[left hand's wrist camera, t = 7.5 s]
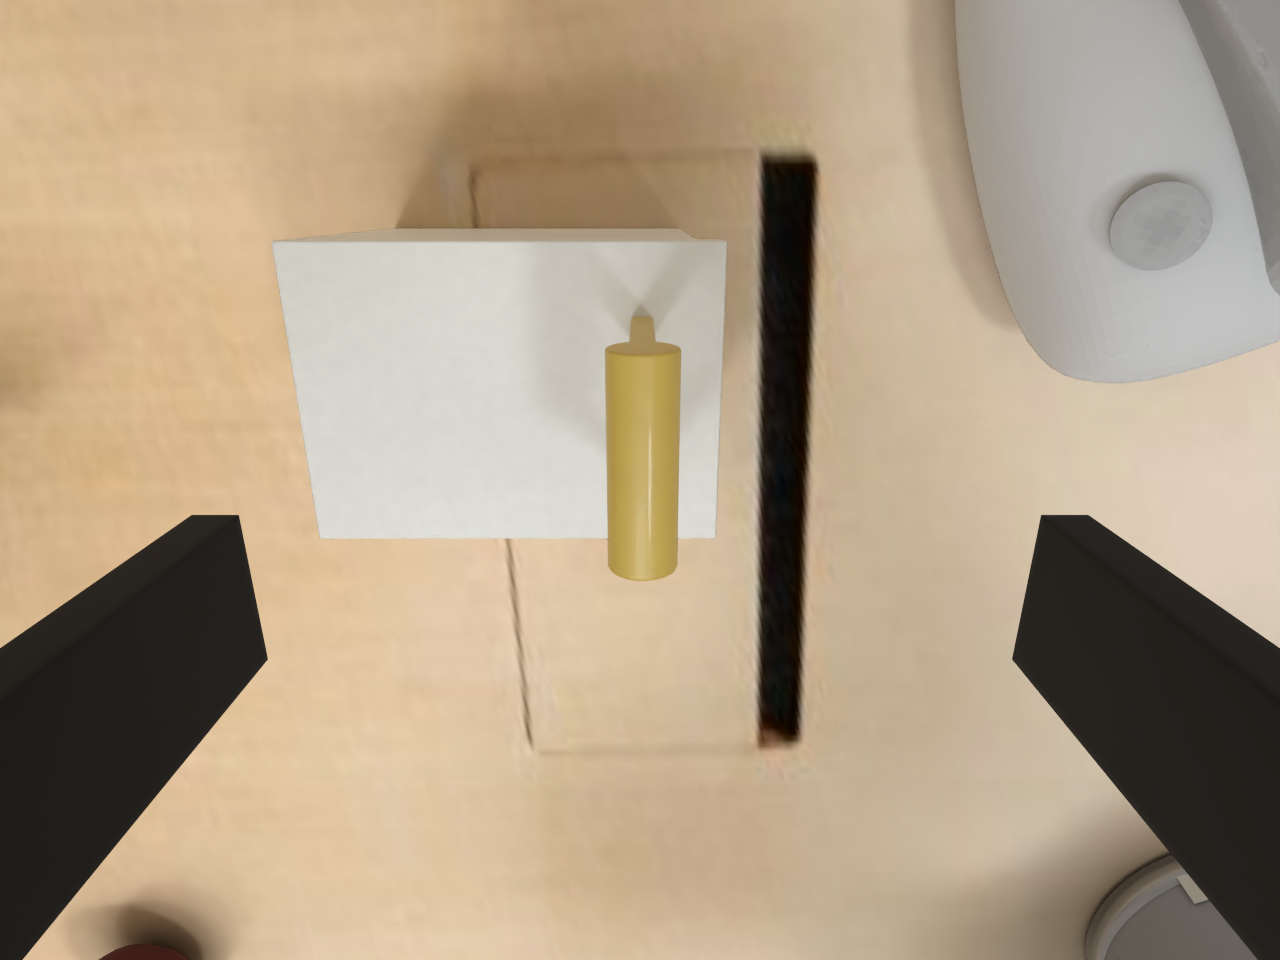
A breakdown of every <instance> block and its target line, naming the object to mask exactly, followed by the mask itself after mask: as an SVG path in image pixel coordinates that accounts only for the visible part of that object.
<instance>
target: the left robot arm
mask: <svg viewBox="0 0 1280 960" xmlns="http://www.w3.org/2000/svg"><path fill="white" fill-rule="evenodd" d="M267 660H268V658H267V653H266V648H265V643H264V638H263V633H262V628H261V623H260V618H259V613H258V608H257V603H256V598H255V594H254V589H253V584H252V579H251V574H250V569H249V564H248V559H247V554H246V549H245V544H244V539H243V534H242V529H241V524H240V519H239V515H191V516H190V517H188V518H187V519H186V520H184V521H183V522H181V523H180V524H178V525H177V526H175V527H174V528H173V529H171V530H170V531H168V532H167V533H165V534H164V535H163V536H161V537H160V538H158V539H157V540H155V541H154V542H152V543H151V544H150V545H148V546H147V547H145V548H144V549H142V550H141V551H140V552H138V553H137V554H135V555H134V556H132V557H131V558H129V559H128V560H127V561H125V562H124V563H122V564H121V565H119V566H118V567H117V568H115V569H114V570H112V571H111V572H109V573H108V574H106V575H105V576H104V577H102V578H101V579H99V580H98V581H96V582H95V583H93V584H92V585H91V586H89V587H88V588H86V589H85V590H83V591H82V592H81V593H79V594H78V595H76V596H75V597H73V598H72V599H70V600H69V601H68V602H66V603H65V604H63V605H62V606H60V607H59V608H58V609H56V610H55V611H53V612H52V613H50V614H49V615H47V616H46V617H45V618H43V619H42V620H40V621H39V622H37V623H36V624H35V625H33V626H32V627H30V628H29V629H27V630H26V631H24V632H23V633H22V634H20V635H19V636H17V637H16V638H14V639H13V640H12V641H10V642H9V643H7V644H6V645H4V646H3V647H1V648H0V960H23V958H24V957H25V956H26V955H27V953H28V952H29V951H30V950H31V949H32V947H33V946H34V945H35V944H36V942H37V941H38V940H39V939H40V938H41V936H42V935H43V934H44V933H45V931H46V930H47V929H48V928H49V926H50V925H51V924H52V923H53V922H54V920H55V919H56V918H57V917H58V915H59V914H60V913H61V912H62V911H63V909H64V908H65V907H66V906H67V904H68V903H69V902H70V901H71V900H72V898H73V897H74V896H75V895H76V893H77V892H78V891H79V890H80V889H81V887H82V886H83V885H84V884H85V882H86V881H87V880H88V879H89V878H90V876H91V875H92V874H93V873H94V871H95V870H96V869H97V868H98V867H99V865H100V864H101V863H102V862H103V860H104V859H105V858H106V857H107V855H108V854H109V853H110V852H111V851H112V849H113V848H114V847H115V846H116V844H117V843H118V842H119V841H120V840H121V838H122V837H123V836H124V835H125V833H126V832H127V831H128V830H129V829H130V827H131V826H132V825H133V824H134V822H135V821H136V820H137V819H138V818H139V816H140V815H141V814H142V813H143V811H144V810H145V809H146V808H147V807H148V805H149V804H150V803H151V802H152V800H153V799H154V798H155V797H156V795H157V794H158V793H159V792H160V791H161V789H162V788H163V787H164V786H165V784H166V783H167V782H168V781H169V780H170V778H171V777H172V776H173V775H174V773H175V772H176V771H177V770H178V769H179V767H180V766H181V765H182V764H183V762H184V761H185V760H186V759H187V758H188V756H189V755H190V754H191V753H192V751H193V750H194V749H195V748H196V747H197V745H198V744H199V743H200V742H201V740H202V739H203V738H204V737H205V736H206V734H207V733H208V732H209V731H210V729H211V728H212V727H213V726H214V724H215V723H216V722H217V721H218V720H219V718H220V717H221V716H222V715H223V713H224V712H225V711H226V710H227V709H228V707H229V706H230V705H231V704H232V702H233V701H234V700H235V699H236V698H237V696H238V695H239V694H240V693H241V691H242V690H243V689H244V688H245V687H246V685H247V684H248V683H249V682H250V680H251V679H252V678H253V677H254V676H255V674H256V673H257V672H258V671H259V669H260V668H261V667H262V666H263V664H264V663H265V662H266V661H267ZM1012 660H1013V661H1014V662H1015V663H1016V664H1017V666H1018V667H1019V668H1020V669H1021V671H1022V672H1023V673H1024V674H1025V676H1026V677H1027V678H1028V679H1029V680H1030V682H1031V683H1032V684H1033V685H1034V687H1035V688H1036V689H1037V690H1038V691H1039V693H1040V694H1041V695H1042V696H1043V698H1044V699H1045V700H1046V701H1047V702H1048V704H1049V705H1050V706H1051V707H1052V709H1053V710H1054V711H1055V712H1056V713H1057V715H1058V716H1059V717H1060V718H1061V720H1062V721H1063V722H1064V723H1065V724H1066V726H1067V727H1068V728H1069V729H1070V731H1071V732H1072V733H1073V734H1074V736H1075V737H1076V738H1077V739H1078V740H1079V742H1080V743H1081V744H1082V745H1083V747H1084V748H1085V749H1086V750H1087V751H1088V753H1089V754H1090V755H1091V756H1092V758H1093V759H1094V760H1095V761H1096V762H1097V764H1098V765H1099V766H1100V767H1101V769H1102V770H1103V771H1104V772H1105V773H1106V775H1107V776H1108V777H1109V778H1110V780H1111V781H1112V782H1113V783H1114V784H1115V786H1116V787H1117V788H1118V789H1119V791H1120V792H1121V793H1122V794H1123V795H1124V797H1125V798H1126V799H1127V800H1128V802H1129V803H1130V804H1131V805H1132V807H1133V808H1134V809H1135V810H1136V811H1137V813H1138V814H1139V815H1140V816H1141V818H1142V819H1143V820H1144V821H1145V822H1146V824H1147V825H1148V826H1149V827H1150V829H1151V830H1152V831H1153V832H1154V833H1155V835H1156V836H1157V837H1158V838H1159V840H1160V841H1161V842H1162V843H1163V844H1164V846H1165V847H1166V848H1167V849H1168V851H1169V852H1170V853H1171V854H1172V855H1169V856H1167V857H1164V858H1162V859H1160V860H1158V861H1156V862H1154V863H1152V864H1150V865H1148V866H1146V867H1144V868H1143V869H1141V870H1139V871H1138V872H1136V873H1135V874H1133V875H1132V876H1131V877H1129V878H1128V879H1127V880H1125V881H1124V882H1123V883H1122V884H1120V885H1119V886H1118V887H1117V888H1116V889H1115V890H1114V891H1113V892H1112V893H1111V894H1110V895H1109V896H1108V897H1107V898H1106V900H1105V901H1104V902H1103V904H1102V905H1101V906H1100V908H1099V909H1098V911H1097V912H1096V914H1095V916H1094V918H1093V920H1092V922H1091V924H1090V927H1089V930H1088V933H1087V937H1086V945H1085V952H1086V960H1280V648H1279V647H1277V646H1276V645H1274V644H1273V643H1271V642H1270V641H1268V640H1267V639H1266V638H1264V637H1263V636H1261V635H1260V634H1258V633H1257V632H1256V631H1254V630H1253V629H1251V628H1250V627H1248V626H1247V625H1245V624H1244V623H1243V622H1241V621H1240V620H1238V619H1237V618H1235V617H1234V616H1233V615H1231V614H1230V613H1228V612H1227V611H1225V610H1224V609H1222V608H1221V607H1220V606H1218V605H1217V604H1215V603H1214V602H1212V601H1211V600H1210V599H1208V598H1207V597H1205V596H1204V595H1202V594H1201V593H1199V592H1198V591H1197V590H1195V589H1194V588H1192V587H1191V586H1189V585H1188V584H1186V583H1185V582H1184V581H1182V580H1181V579H1179V578H1178V577H1176V576H1175V575H1174V574H1172V573H1171V572H1169V571H1168V570H1166V569H1165V568H1163V567H1162V566H1161V565H1159V564H1158V563H1156V562H1155V561H1153V560H1152V559H1151V558H1149V557H1148V556H1146V555H1145V554H1143V553H1142V552H1140V551H1139V550H1138V549H1136V548H1135V547H1133V546H1132V545H1130V544H1129V543H1128V542H1126V541H1125V540H1123V539H1122V538H1120V537H1119V536H1117V535H1116V534H1115V533H1113V532H1112V531H1110V530H1109V529H1107V528H1106V527H1105V526H1103V525H1102V524H1100V523H1099V522H1097V521H1096V520H1094V519H1093V518H1092V517H1090V516H1089V515H1041V519H1040V524H1039V529H1038V534H1037V539H1036V544H1035V549H1034V554H1033V559H1032V564H1031V569H1030V574H1029V579H1028V584H1027V589H1026V593H1025V598H1024V603H1023V608H1022V613H1021V618H1020V623H1019V628H1018V633H1017V638H1016V643H1015V648H1014V653H1013V658H1012Z"/></svg>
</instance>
